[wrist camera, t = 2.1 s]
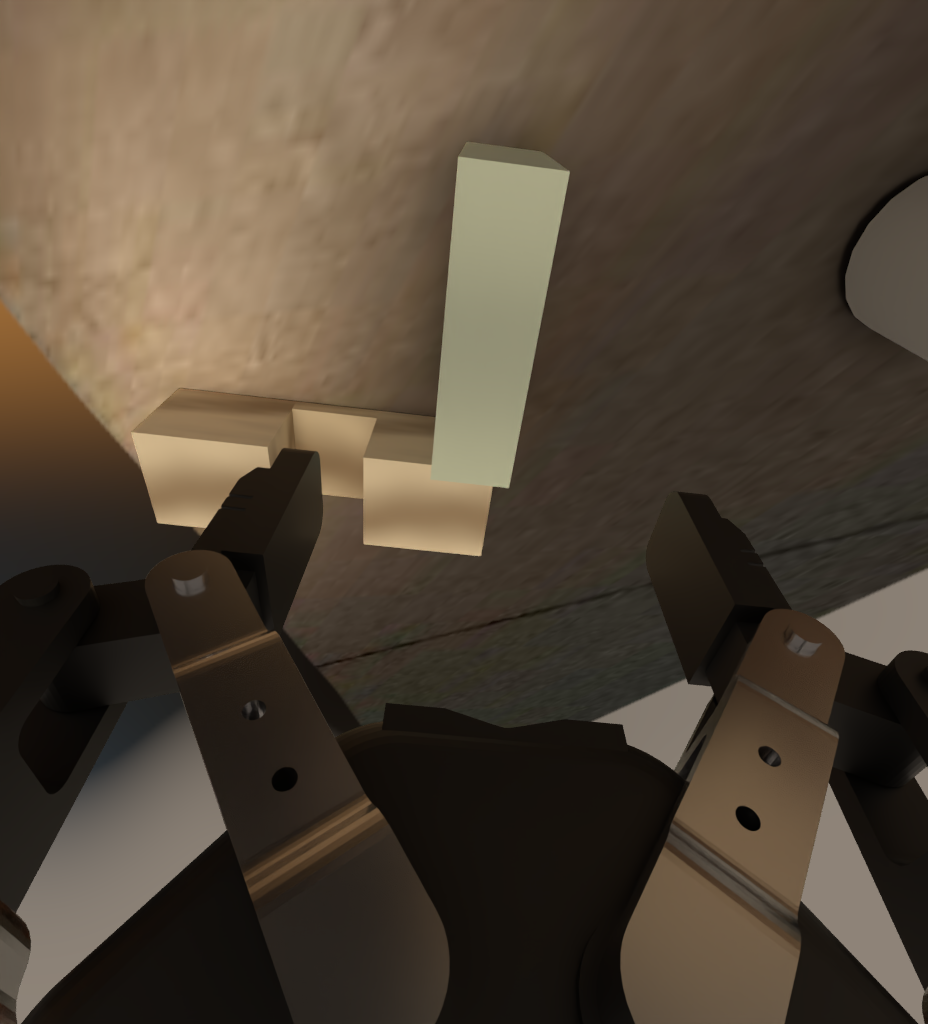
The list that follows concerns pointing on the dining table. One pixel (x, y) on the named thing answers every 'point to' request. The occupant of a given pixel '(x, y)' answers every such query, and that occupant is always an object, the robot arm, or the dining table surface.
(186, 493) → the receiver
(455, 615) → the dining table surface
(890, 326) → the can
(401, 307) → the dining table surface
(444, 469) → the sage green tall block
